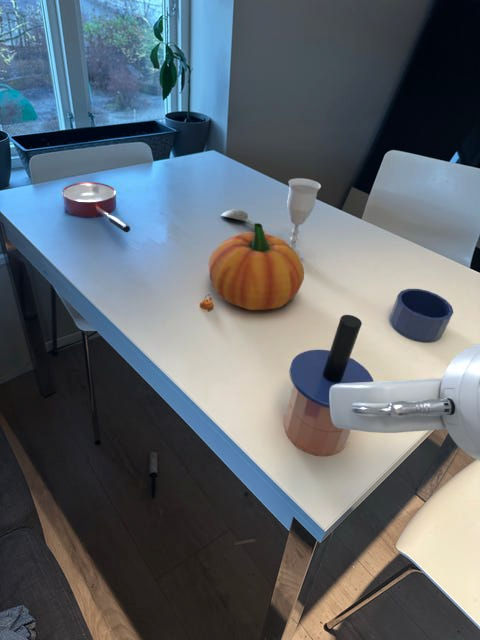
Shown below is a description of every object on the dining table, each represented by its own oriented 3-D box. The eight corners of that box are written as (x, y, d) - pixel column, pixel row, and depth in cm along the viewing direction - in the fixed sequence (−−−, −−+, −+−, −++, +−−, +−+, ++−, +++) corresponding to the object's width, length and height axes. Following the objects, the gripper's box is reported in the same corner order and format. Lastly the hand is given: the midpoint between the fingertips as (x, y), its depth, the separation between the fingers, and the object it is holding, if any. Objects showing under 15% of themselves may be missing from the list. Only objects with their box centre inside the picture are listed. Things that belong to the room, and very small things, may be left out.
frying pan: (163, 243, 106) (162, 218, 102) (112, 256, 99) (109, 229, 95) (103, 194, 125) (101, 172, 121) (56, 202, 118) (53, 179, 114)
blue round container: (448, 324, 91) (458, 302, 88) (433, 349, 84) (445, 327, 81) (399, 304, 95) (407, 282, 92) (381, 326, 88) (390, 303, 85)
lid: (384, 381, 62) (410, 321, 56) (352, 428, 53) (379, 363, 48) (311, 345, 66) (329, 286, 61) (272, 383, 58) (288, 319, 52)
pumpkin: (312, 315, 89) (329, 248, 80) (219, 323, 84) (225, 253, 75) (280, 265, 103) (291, 204, 94) (199, 270, 98) (202, 205, 89)
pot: (358, 425, 67) (377, 378, 61) (331, 468, 61) (349, 420, 55) (303, 394, 71) (316, 347, 65) (271, 431, 65) (282, 382, 59)
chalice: (286, 266, 103) (300, 191, 92) (270, 253, 108) (281, 179, 97) (311, 261, 107) (327, 188, 96) (294, 248, 111) (308, 177, 100)
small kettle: (197, 304, 88) (197, 293, 86) (211, 301, 89) (212, 290, 87) (202, 312, 86) (203, 301, 84) (216, 310, 87) (217, 298, 85)
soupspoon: (235, 213, 125) (216, 219, 122) (236, 202, 123) (216, 207, 120) (288, 244, 112) (268, 251, 108) (289, 232, 110) (269, 239, 106)
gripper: (377, 461, 29) (306, 436, 43) (631, 438, 33) (493, 422, 47) (369, 364, 30) (302, 370, 43) (618, 353, 34) (486, 361, 47)
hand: (402, 397), depth 45 cm, fingers open, 8 cm apart
